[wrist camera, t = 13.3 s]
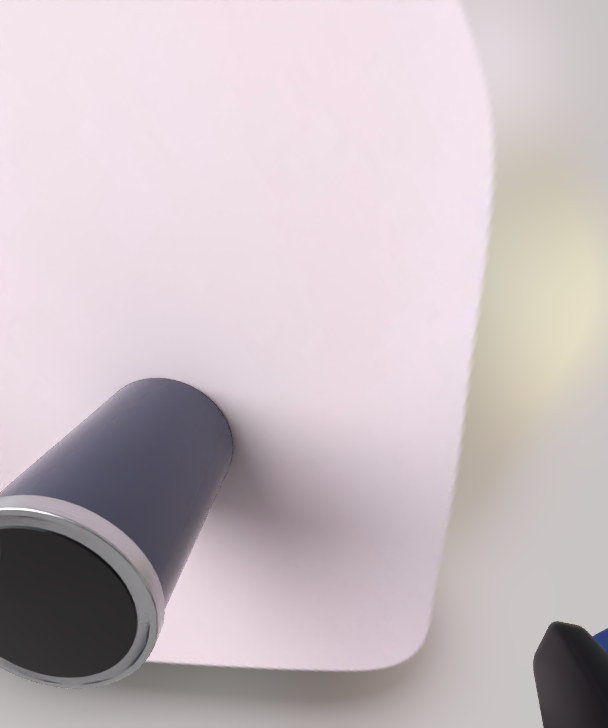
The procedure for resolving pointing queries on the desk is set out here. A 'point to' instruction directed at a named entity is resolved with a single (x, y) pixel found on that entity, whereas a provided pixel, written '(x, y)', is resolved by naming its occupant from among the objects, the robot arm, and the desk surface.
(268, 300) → the desk surface
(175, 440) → the navy blue tumbler
